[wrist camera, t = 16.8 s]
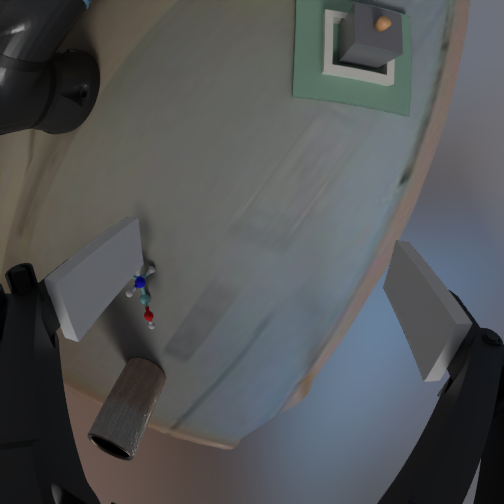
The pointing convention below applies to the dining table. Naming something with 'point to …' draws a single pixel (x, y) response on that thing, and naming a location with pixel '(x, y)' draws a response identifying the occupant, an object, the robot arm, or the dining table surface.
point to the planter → (128, 409)
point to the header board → (345, 75)
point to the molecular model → (143, 293)
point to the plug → (370, 36)
